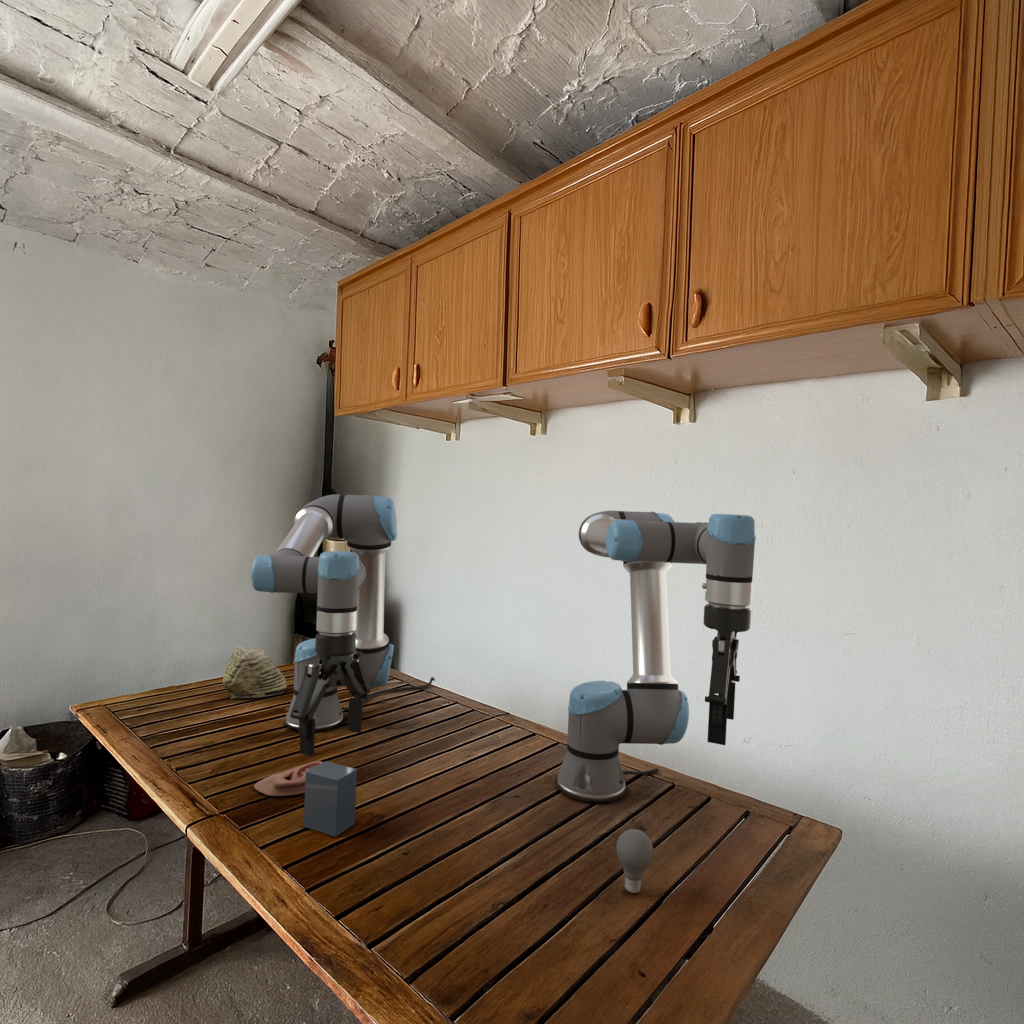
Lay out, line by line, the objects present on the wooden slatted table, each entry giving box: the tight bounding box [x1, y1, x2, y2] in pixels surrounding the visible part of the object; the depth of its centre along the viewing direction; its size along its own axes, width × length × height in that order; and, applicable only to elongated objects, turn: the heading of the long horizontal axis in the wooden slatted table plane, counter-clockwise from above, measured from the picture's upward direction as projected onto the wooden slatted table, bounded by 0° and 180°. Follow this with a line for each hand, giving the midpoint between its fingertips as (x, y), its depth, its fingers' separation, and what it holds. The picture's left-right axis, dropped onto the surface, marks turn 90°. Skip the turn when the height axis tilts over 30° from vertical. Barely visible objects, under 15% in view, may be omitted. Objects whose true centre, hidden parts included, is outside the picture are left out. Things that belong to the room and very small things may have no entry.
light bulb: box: [615, 828, 654, 894], centre depth 106 cm, size 6×6×10 cm
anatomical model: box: [253, 760, 323, 797], centre depth 138 cm, size 13×4×12 cm
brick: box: [303, 760, 358, 838], centre depth 122 cm, size 6×8×11 cm
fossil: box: [222, 646, 288, 699], centre depth 198 cm, size 9×18×15 cm, turn 132°
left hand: (331, 742), depth 122 cm, fingers open, 13 cm apart
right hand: (721, 729), depth 107 cm, fingers open, 13 cm apart
